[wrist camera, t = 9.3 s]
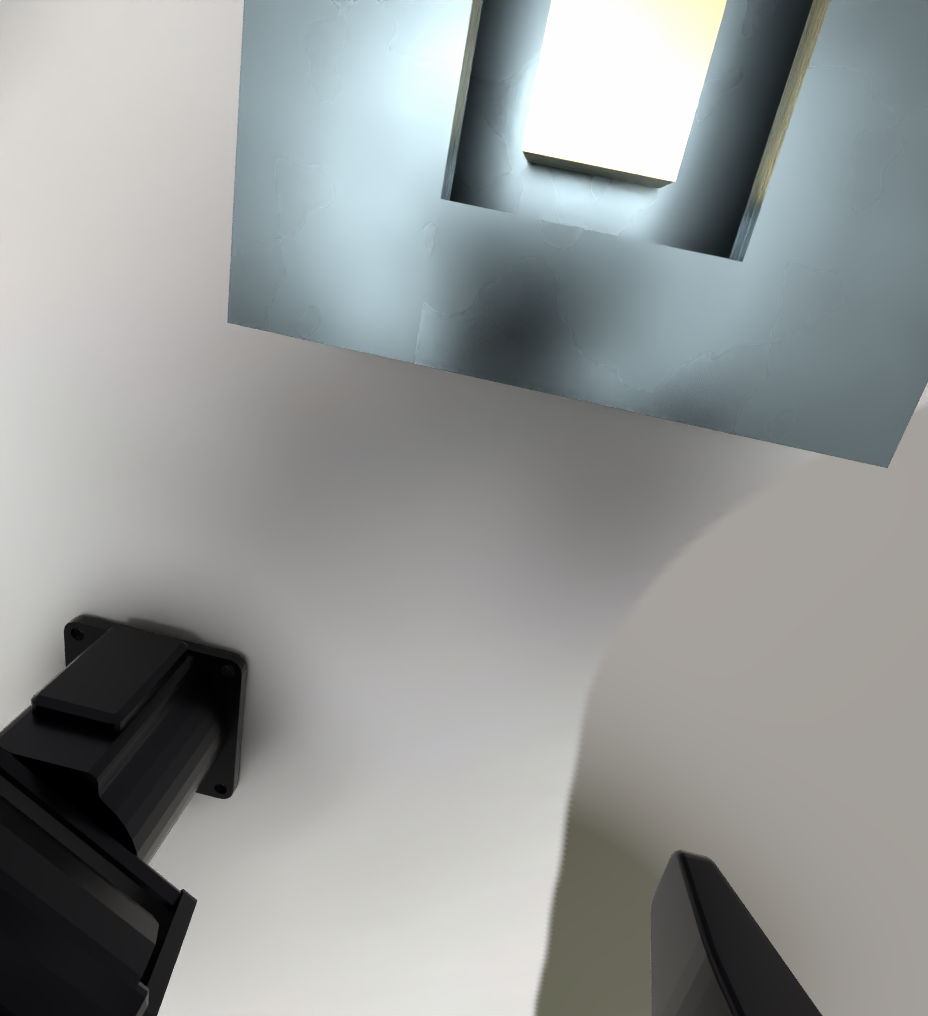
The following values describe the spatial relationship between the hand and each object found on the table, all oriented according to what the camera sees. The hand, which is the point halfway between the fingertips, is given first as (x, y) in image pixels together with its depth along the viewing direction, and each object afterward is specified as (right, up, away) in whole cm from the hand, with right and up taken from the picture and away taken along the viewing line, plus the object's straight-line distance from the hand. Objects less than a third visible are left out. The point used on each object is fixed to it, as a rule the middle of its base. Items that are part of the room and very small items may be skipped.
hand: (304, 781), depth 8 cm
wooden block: (+6, +14, +7) cm, 17 cm away
